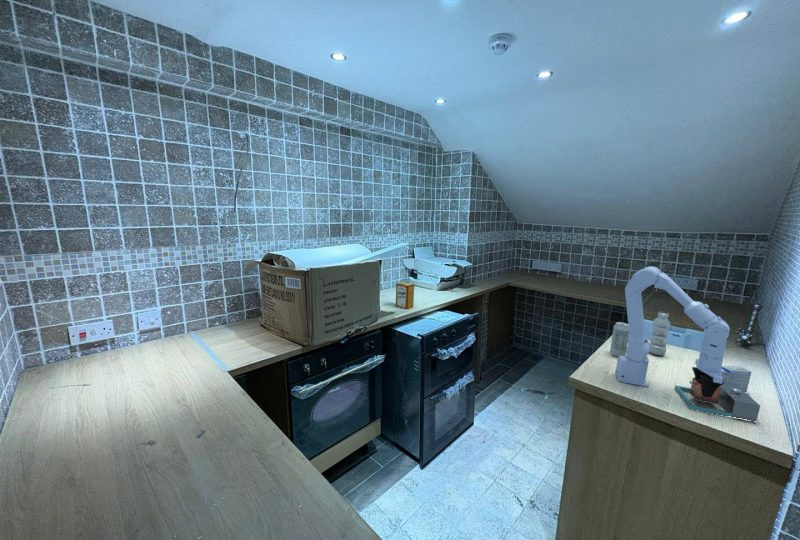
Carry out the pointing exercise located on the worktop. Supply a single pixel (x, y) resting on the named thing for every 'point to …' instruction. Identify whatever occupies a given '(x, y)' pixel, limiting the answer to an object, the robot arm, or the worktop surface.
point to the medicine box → (736, 376)
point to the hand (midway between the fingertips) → (703, 392)
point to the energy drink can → (619, 339)
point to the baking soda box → (404, 295)
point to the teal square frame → (727, 402)
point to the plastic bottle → (660, 334)
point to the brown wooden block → (697, 392)
